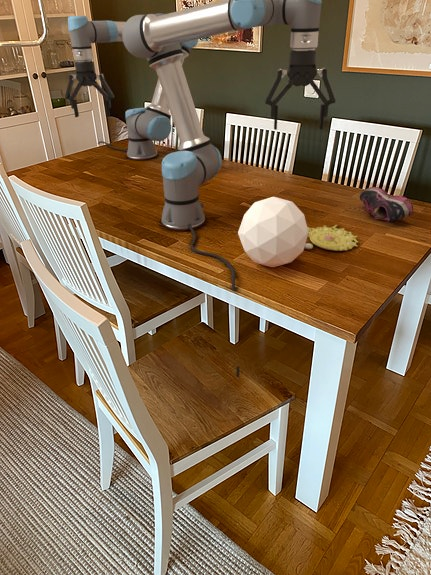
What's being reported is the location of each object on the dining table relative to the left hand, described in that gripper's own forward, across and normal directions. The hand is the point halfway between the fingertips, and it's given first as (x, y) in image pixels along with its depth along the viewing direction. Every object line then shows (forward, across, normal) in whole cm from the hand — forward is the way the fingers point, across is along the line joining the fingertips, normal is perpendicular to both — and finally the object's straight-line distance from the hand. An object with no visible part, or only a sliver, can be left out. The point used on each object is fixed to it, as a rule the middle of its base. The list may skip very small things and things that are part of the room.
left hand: (92, 116), depth 188 cm
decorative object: (+25, +91, -66) cm, 115 cm away
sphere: (+26, +72, -81) cm, 111 cm away
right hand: (-7, +80, -55) cm, 98 cm away
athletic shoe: (+25, +112, -48) cm, 124 cm away
